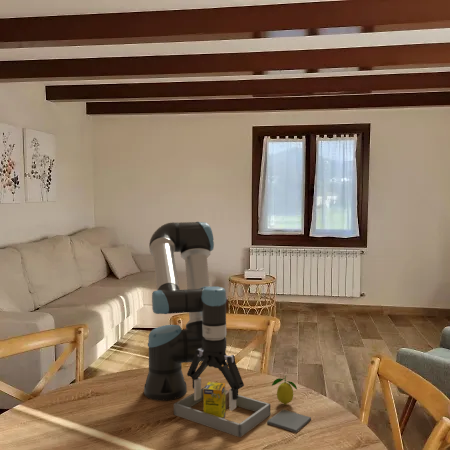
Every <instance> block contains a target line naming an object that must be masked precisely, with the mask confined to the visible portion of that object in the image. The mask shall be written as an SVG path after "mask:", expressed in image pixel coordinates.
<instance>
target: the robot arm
mask: <svg viewBox="0 0 450 450" xmlns="http://www.w3.org/2000/svg"><path fill="white" fill-rule="evenodd" d="M148 244H149V253H150V254H151V256H152V258H153V266H154V267H153V268H154V274H155V275H154V276H155V285H156V290H154V291H152V292H151V293H152V294H151V304H152V305H151V306H152V307H151V308H152V312H153V314H155V315H169V314H170V315H171V314H185V313H187V314H188V315H189V317H188V318H189V320H188V321H187V323H186V324H185V329H182V327H181V325H179V324H164V325H161V326H158V327H155V328H153V329H151V331H150V332H149V333H148V342H147V347H148V372H147V373H148V374H147V376H146V380H145V384H144V386H143V394H144V396H145V397H146V398H148V399H150V400H154V401H172V400H177V399H179V398H181V397H183V396H185V395H186V393H187V391H188V390H187V382H186V381H185V378H184V374H183V371H182V364H183V363H184V364H186V363H191V364H190V366H189V368H188V371H187V373H186V375H187V376H188V377H190V378H191V379H192V389H194V390H193V393H194V400H198V399H200V398H201V389H202V377H201V375H202V374H203V372H204V371H205V369H206V368H207V367H210V368H214V369H218V371H220V372H221V374H222V376H223V377H224V378H225V380H226V382H227V383H228V385H229V387H230V388H229V390H228V391H229V407H228V408H229V410H228V411H233V410H235V409H237V406H236V399H238V395H239V390H240V389H242V388H243V387H244V386H245V384H244V381H243V379H242V375H241V373H240V371H239V368H238V365H237V364H236V357H235V355H234V354H232V355H227V353H226V351H227V337H226V336H227V299H228V298H227V296H226V295H227V293H226V292H227V290H226V289H225V288H224V287H221V286H210V276H209V266H208V258H209V256H210V255H211V252H212V251H213V250H214V246H215V242H214V234H213V230H212V227H211V225H210V224H209V223H208V222H206V221H204V222H203V221H191V222H190V221H188V222H187V221H186V222H173V221H172V222H167V223H165V224H163V225H161V226H159V227H158V228H157V229H156V230H155V231H154V232H153V234H152V235H151V237H150V240H149V243H148ZM174 253H180V257H181V258H182V259H183V260H184V263H185V266H184V267H185V277H186V288H187V289H185V288H184V289H181V288H180V285H179V278H178V272H177V267H176V261H175V254H174ZM200 362H201V364H200Z"/></svg>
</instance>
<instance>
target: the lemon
mask: <svg viewBox="0 0 450 450" xmlns="http://www.w3.org/2000/svg"><path fill="white" fill-rule="evenodd" d="M286 378H287V376H286V375H285V376H284V378H280V377H279V378H276V379H275V380H273V382H272V384H271V387H273V386H275V385H277V384H279V383H280V382H282V381H283V380H284V382H282V383H280V384H279V386H278V387H277V390H276V398H277V400H278V402H280V404H283V405H284V406H286V405H287V404H290V403H291V402H292V401H293V399H294V389H296V390H298V387H297V385H296V384H295V383H294V382H293V381H288V380H287V379H286ZM293 388H294V389H293Z"/></svg>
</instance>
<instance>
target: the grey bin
mask: <svg viewBox="0 0 450 450" xmlns="http://www.w3.org/2000/svg"><path fill="white" fill-rule="evenodd" d="M204 388H205V386H204V387H203V388H202V387H201V398H200V399H198V400H194V392H193V393H191V394H189V395H187V396H186V397H183V398H182V399H180V400H178V401H177V402H175V403H173V416H176V417H180V418H181V419H182V418H183V419H185V420H188V421H191V422H194V423H197V424H199V425H203V426H206V427H209V428H212V429H215V430H217V431H220V432H224V433H227V434H229V435H232V436H235V437H237V438H241V437H243V436H244V435H246V434H247V433H248V432H250V431H251V430H252V429H253V428H255V427H256V426H257V425H259V424H260V423H262V422H263V421H264V420H266V419H267V418H268V417H269V416H271V403H268V402H266V401H262V400H258V399H254V398H251V397H247V396H243V395H241V394H238V399H236V407H239V408H242V409H245V410H249V411H251V412H253V413H252V414H251V415H249V416H248V417H247V418H245V419H244V420H243V421H240V423H239V422H235V421H233V420H230V419H225V418H220V417H217V416H214V415H211V414H208V413H205V412H204V411H201V410H198V409H195V408H192V407H193V406H195V405H197V404H199V403H200V402H201V401H204V398H203V389H204Z"/></svg>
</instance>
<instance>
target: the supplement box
mask: <svg viewBox="0 0 450 450" xmlns="http://www.w3.org/2000/svg"><path fill="white" fill-rule="evenodd" d="M204 387H205V388H204ZM204 387H203V388H204V389H203V398H204V399H203V412H205V413H208V414H211V415H214V416H217V417H220V418H224V419H225V417H226V409H225V390H226V383H225V382H213V381H208V382H207V383H206V385H205V386H204Z"/></svg>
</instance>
